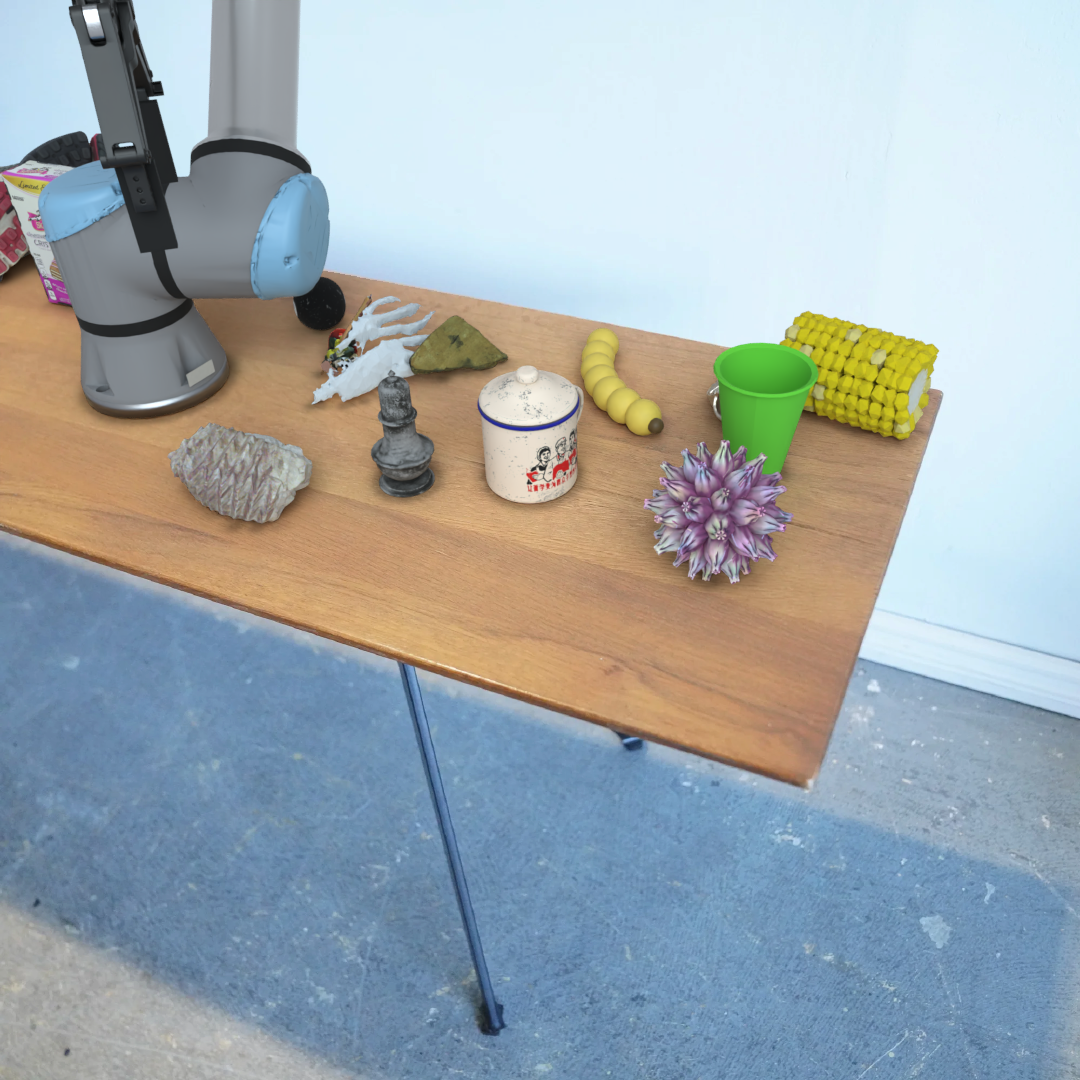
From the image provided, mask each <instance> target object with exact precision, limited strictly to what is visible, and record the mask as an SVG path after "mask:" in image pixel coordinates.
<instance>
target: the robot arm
mask: <svg viewBox="0 0 1080 1080" xmlns="http://www.w3.org/2000/svg"><path fill="white" fill-rule="evenodd" d="M133 2H134V1H133V0H71V5H69V6H68V14H69V18H70V22H71V25H72V27H73V28H74V30H75V33H76V37H77V41H78V44H79V48H80V53H81V58H82V60H83V64H84V69H85V72H86V77H87V81H88V85H89V89H90V93H91V97H92V101H93V106H94V110H95V114H96V118H97V122H98V127H99V131H100V133H101V135H102V139H103V143H104V147H105V151H106V155H105V156H101V157H99V158H100V160H98V161H94V162H91V163H88V164H85V165H82V166H79V167H77V168H74V169H72V170H70V171H68V172H66V173H64V174H62V175H60V176H58V177H57V178H55V179H54V180H52V181H51V182H49V183H48V184H47V185H46V186H45V187H44V189H43V190H42V191H41V193H40V195H39V199H38V208H39V212H40V216H41V219H42V223H43V227H44V231H45V238H46V241H47V242H49V245H50V247H51V250H52V253H53V256H54V258H55V261H56V264H57V266H58V269H59V272H60V274H61V277H62V280H63V283H64V285H65V288H66V291H67V293H68V296H69V299H70V302H71V304H72V306H71V307H72V310H73V312H74V313H75V314H74V315H75V317H76V321H77V323H78V326H79V330H80V386H81V388H82V391H83V394H84V397H85V398H86V402H87V403H88V404H89V406H90V407H91V408H92V409H93V410H95V411H97V413H101V414H102V415H106V416H108V417H109V416H110V417H113V418H119V419H131V420H133V419H151V418H156V417H162V416H167V415H172V414H174V413H178V412H181V411H184V410H187V409H189V408H190V409H191V408H192V407H194V406H196V405H198V404H200V403H202V402H204V401H206V400H207V399H209V398H210V397H212V396H213V395H215V394H216V393H217V392H218V391H219V390H220V389H221V388H222V387H223V386H224V384H225V383H226V382H227V380H228V377H229V375H230V367H229V362H228V359H227V354H226V351H225V349H224V348H223V346H222V344H221V343H220V341H219V339H218V338H217V337H216V335H215V333H213V331H212V329H211V327H209V325H208V324H207V322H206V321H205V319H204V318H203V316H202V314H201V313H200V311H199V310H198V309H197V307H196V305H195V301H194V300H213V299H214V300H215V299H217V300H221V299H223V300H224V299H225V300H227V299H230V300H231V299H232V300H233V299H234V300H235V299H237V300H238V299H239V300H241V299H260V300H262V301H272V300H275V299H280V298H293V297H296V296H301V295H304V294H306V293H308V292H309V291H310V290H312V289H313V288H314V286H315V284H316V283H317V282H318V281H319V279H320V277H322V274H323V272H324V269H325V266H326V261H327V258H328V253H329V252H328V251H329V246H330V245H329V244H330V236H331V235H330V233H331V220H329V219H330V218H329V213H330V204H329V197H328V193H327V189H326V187H325V185H324V183H323V181H322V180H321V179H320V178H319V177H318V176H316V175H313V174H312V172H313V171H312V165H311V162H310V160H309V159H308V158H307V157H306V156H305V155H304V154H303V153H302V152H301V151H300V150H299V149H298V119H299V118H298V116H299V114H298V113H299V79H300V78H299V77H300V76H299V74H300V43H301V42H300V41H301V40H300V39H301V2H302V0H211V25H210V28H211V29H210V51H209V52H210V55H209V85H208V86H209V87H208V115H207V118H208V119H207V136H206V137H205V138H203V139H201V140H200V141H199V142H197V143H196V144H195V145H194V146H193V147H192V149H191V151H190V165H189V175H188V176H186V175H185V176H178V173H177V170H176V166H175V162H174V158H173V155H172V154H173V153H172V151H171V147H170V144H169V139H168V136H167V135H168V134H167V132H166V128H165V125H164V121H163V117H162V113H161V110H160V106H159V102H158V99H156V98H154V97H164V96H165V91H164V86H163V82H162V81H161V80H156V81H154V80H153V78H154V74H153V70H151V67H150V65H149V62H148V58H147V56H146V52H145V50H144V46H143V43H142V39H141V36H140V31H139V25H138V23H137V21H136V13H135V12H136V11H135V7H134V6H135V5H134V3H133ZM150 98H154V99H150ZM121 144H132V145H125V146H120V145H121ZM119 146H120V147H119Z"/></svg>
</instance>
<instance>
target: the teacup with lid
mask: <svg viewBox="0 0 1080 1080" xmlns="http://www.w3.org/2000/svg"><path fill="white" fill-rule="evenodd" d="M584 399H585V397H584V391H583V390H582V388H581V387H579V386H578V385H576V384H574V383H572V382H571V380H569V379H567V378H565V377H564V376H562V375H560V374H558V373H555V372H552V371H548V370H542V369H538V368H536V367H535V366H534V365H528V364H527V365H522V366H519V367H518V368H517V370H513V371H509V372H506V373H503V374H500V375H498V376H496V377H494V378H492V379H491V380H489V381H488V382H487V383H486V384H485V385H484V386H483V387H482V389H481V391H480V393H479V394H478V398H477V410H478V412H479V414H480V419H481V420H480V421H481V432H482V445H483V456H484V458H483V459H484V468H485V469H484V470H485V479H486V483H487V485H488V486H489V488H490V489H491V491H492V492H493V493H494V494H495V495H497V496H499V497H501V498H503V499H505V500H508V501H510V502H514V503H519V504H540V503H546V502H550V501H553V500H555V499H558V498H560V497H562V496H563V495H565V494H566V493H568V492H569V491H570V490H571V489H572V488H573V486H574V485H575V483H576V481H577V479H578V423H579V422H580V419H581V416H582V413H583V408H584V403H585V402H584V401H585V400H584Z"/></svg>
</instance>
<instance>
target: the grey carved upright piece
mask: <svg viewBox="0 0 1080 1080" xmlns="http://www.w3.org/2000/svg"><path fill="white" fill-rule="evenodd" d="M394 375H395V372H394V371H392V370H390V371H389V373H388V376H389V377H386V378H384V379H383V380H382V381H381V382H380V383H379V385H378V386H377V393H378V394H377V395H378V400H379V407H380V411H378V414H377V420H378V422H379V423H381V425H382V432H383V437H380V439H378V440H376V442H375V443H374V444H373V445H372V447H371V449H370V456H371V459H372V461H373V462H374V463H375V464H376V466H377V468H378V469H379V471H380V472H381V473H382V474H381V475H380V477H379V479H378V485H379V489H380V490H381V491H382V492H383V493H385V494H386V495H389V496H391V497H395V498H412V497H416V496H419V495H421V494H423V493H425V492H427V491H429V489H431V488H432V486H433V485H434V483H435V478H436V474H435V473H434V471H433V470H432V469H431V468H430V464H431V462H432V459H433V457H432V456H433V454H434V452H435V444H434V442H433V440H432V439H431V438H430V437H428V435H425V434H423V433H420V432H418V431H417V426H416V419H417V417H418V410H417V409H416V407H414V406H413V403H412V394H411V388H410V387H411V386H410V384H409V382H408V381H407V380H406V379H405V378H402V377H399V376H394Z"/></svg>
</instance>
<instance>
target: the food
mask: <svg viewBox="0 0 1080 1080" xmlns="http://www.w3.org/2000/svg"><path fill="white" fill-rule="evenodd" d="M784 332H785V333H784V339H783V340H781V341H779V345H784V346H788V347H791V348H794V349H796V350H798V351H800V352H802V353H804V354H806V355H807V356H808V357H810V358H811V359H812V360H813V362H814V363H815V364H816V366H817V369H818V374H819V375H818V379H817V381H816V382H815V384H814V385H813V386H812V387H811V388H810V391H809V393H808V396H807V399H806V402H805V405H804V408H803V410H804V411H807V412H811V413H816V415H817V416H818V417H827V418H829V419H830V420H831V421H833V420H836V421H837V422H839V423H841V424H845V423H846V424H849V425H850V427H853V428H854V427H858V428H860V429H861V430H866V431H871V432H873V433H874V434H876V433H879V434H880V435H881V436H882V437H883V438H887V437H894V438H896V439H897V440H899V441H902V440H905V439H909V438H910V436H911V433H912V432H913V431H914V430H915V429H916V425H917V423H918V422H919V421H920V419H921V418H922V416H923V415H924V412H923V409H924V408H926V407H928V406H929V402H930V401H929V400H930V395H929V394H928V392H929V390H930V389H931V385H932V377H931V375H933V373H934V371H935V368H934V364H935V362H936V361H937V358H938V354H939V353H940V350H939V349H938V348H937V347H936V345H935V344H934V343H928V344H926V343H925V342H924V341H922V340H918V339H917V340H916V339H915V338H914V337H913V338H907V337H906V335H897V334H896V335H895V333H894V332H892V331H886V330H883V329H882V328H878V327H868V326H866V325H865V324H863V323H861V324H857V323H854V322H851V321H850V320H845V319H840V318H839V317H837V316H835V317H828V316H826V315H824V314H822V313H813V312H812V311H810V310H807V311H806V310H805V311H803V312H801V313H800V315H799V316H795V317H794V318H793V321H792V325H789V326H788V327H787V328H786V329H785V331H784ZM803 410H802V411H803Z"/></svg>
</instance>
